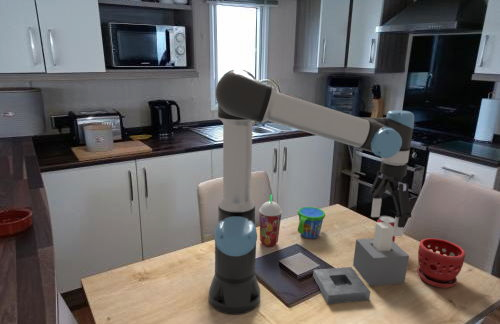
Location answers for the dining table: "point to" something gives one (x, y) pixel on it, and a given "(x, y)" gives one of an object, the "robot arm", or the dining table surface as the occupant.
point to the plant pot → (439, 262)
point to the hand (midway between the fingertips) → (385, 225)
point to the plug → (383, 236)
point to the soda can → (389, 220)
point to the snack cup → (310, 221)
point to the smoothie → (269, 223)
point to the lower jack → (341, 285)
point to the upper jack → (380, 263)
